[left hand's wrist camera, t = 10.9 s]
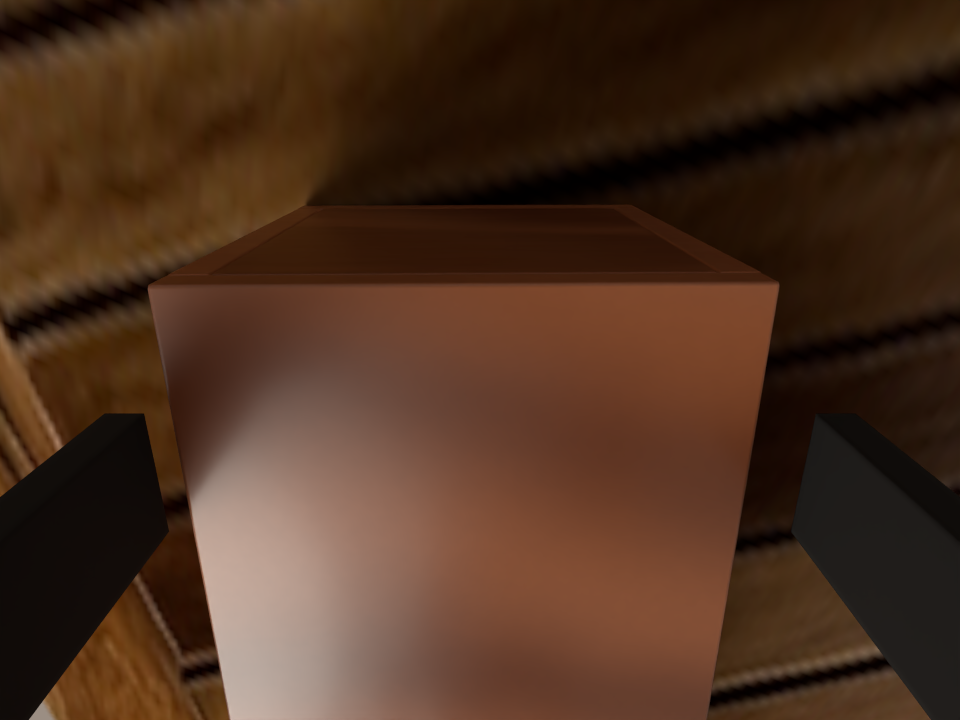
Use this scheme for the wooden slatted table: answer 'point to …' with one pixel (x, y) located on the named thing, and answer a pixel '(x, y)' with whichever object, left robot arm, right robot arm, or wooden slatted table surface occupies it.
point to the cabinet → (465, 458)
